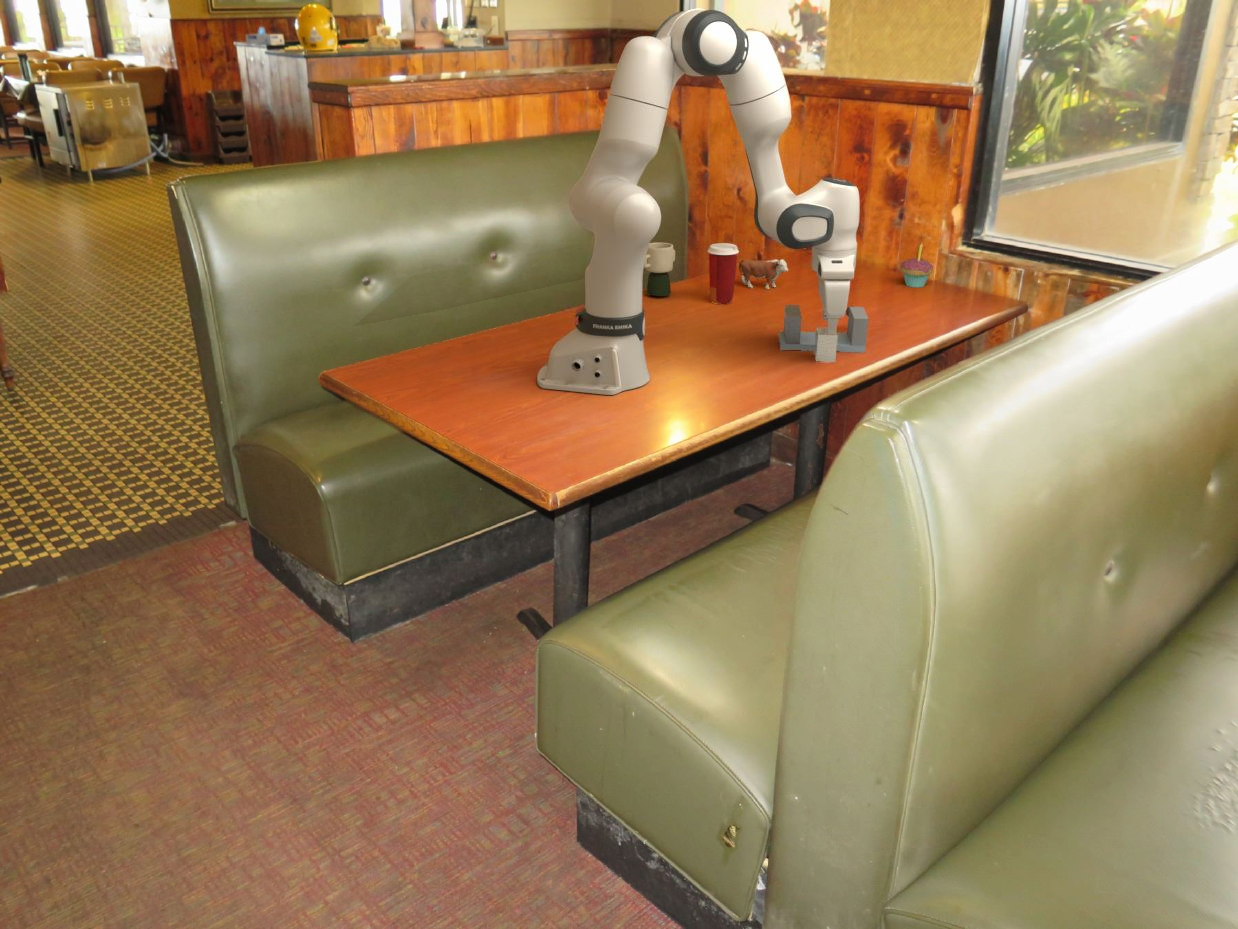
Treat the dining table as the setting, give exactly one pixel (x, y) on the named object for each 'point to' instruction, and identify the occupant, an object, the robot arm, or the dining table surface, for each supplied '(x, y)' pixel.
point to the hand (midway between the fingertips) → (829, 325)
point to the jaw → (792, 324)
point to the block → (825, 345)
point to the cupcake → (916, 270)
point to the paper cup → (722, 272)
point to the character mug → (659, 268)
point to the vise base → (845, 341)
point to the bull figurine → (762, 270)
